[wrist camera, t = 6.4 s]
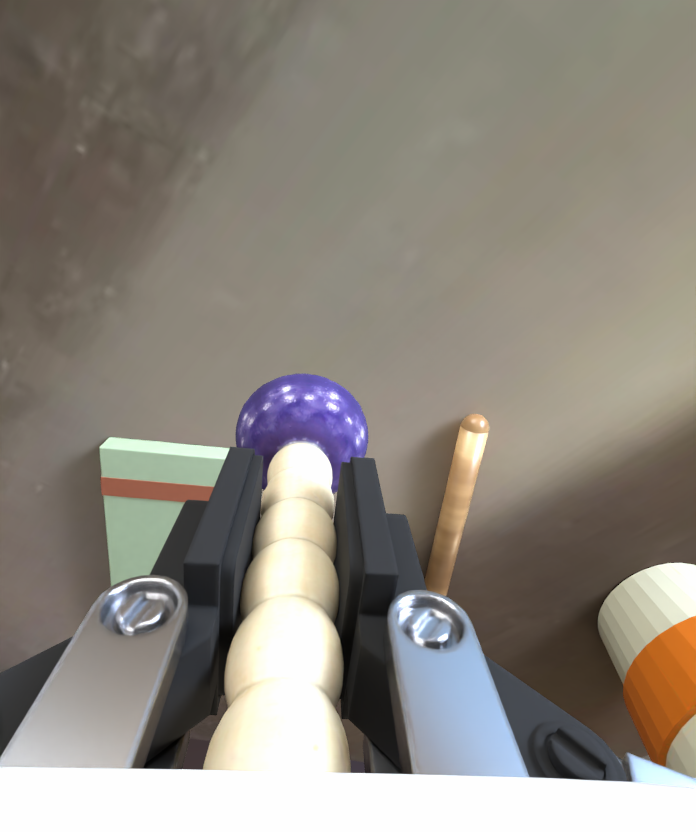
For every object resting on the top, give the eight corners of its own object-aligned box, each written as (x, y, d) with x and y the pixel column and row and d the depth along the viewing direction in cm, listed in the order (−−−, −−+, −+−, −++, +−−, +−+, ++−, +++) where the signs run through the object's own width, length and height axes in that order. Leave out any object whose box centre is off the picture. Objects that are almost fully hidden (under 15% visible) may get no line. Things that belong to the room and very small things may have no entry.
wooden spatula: (443, 678, 36) (447, 698, 34) (375, 674, 36) (377, 694, 34) (516, 414, 28) (527, 424, 26) (430, 405, 27) (435, 415, 26)
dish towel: (124, 639, 33) (116, 656, 32) (109, 436, 27) (97, 447, 26) (252, 647, 34) (249, 664, 33) (264, 451, 28) (261, 462, 27)
